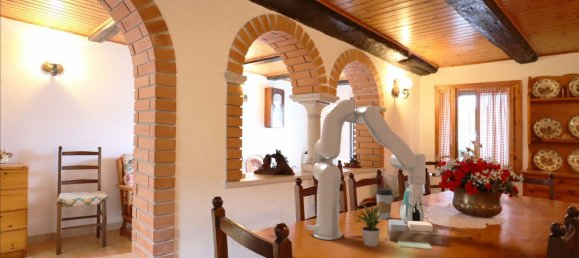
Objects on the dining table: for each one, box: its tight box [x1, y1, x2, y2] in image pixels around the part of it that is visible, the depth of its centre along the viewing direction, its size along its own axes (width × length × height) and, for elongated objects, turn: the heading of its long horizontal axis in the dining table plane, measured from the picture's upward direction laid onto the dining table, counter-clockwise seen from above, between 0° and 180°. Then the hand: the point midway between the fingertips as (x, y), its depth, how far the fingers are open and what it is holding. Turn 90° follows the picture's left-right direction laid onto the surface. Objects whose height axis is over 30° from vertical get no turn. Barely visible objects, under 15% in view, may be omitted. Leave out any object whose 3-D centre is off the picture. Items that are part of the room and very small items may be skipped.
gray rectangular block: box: [388, 219, 407, 231], centre depth 149 cm, size 9×6×2 cm, turn 169°
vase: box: [399, 186, 425, 225], centre depth 173 cm, size 12×12×18 cm
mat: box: [396, 241, 433, 250], centre depth 138 cm, size 12×7×1 cm, turn 79°
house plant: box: [352, 204, 384, 247], centre depth 140 cm, size 14×14×16 cm
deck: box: [386, 223, 442, 246], centre depth 147 cm, size 20×12×4 cm, turn 79°
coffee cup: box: [375, 188, 393, 220], centre depth 183 cm, size 8×8×15 cm
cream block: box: [407, 221, 433, 232], centre depth 148 cm, size 9×6×2 cm, turn 79°
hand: (416, 220), depth 157 cm, fingers closed
